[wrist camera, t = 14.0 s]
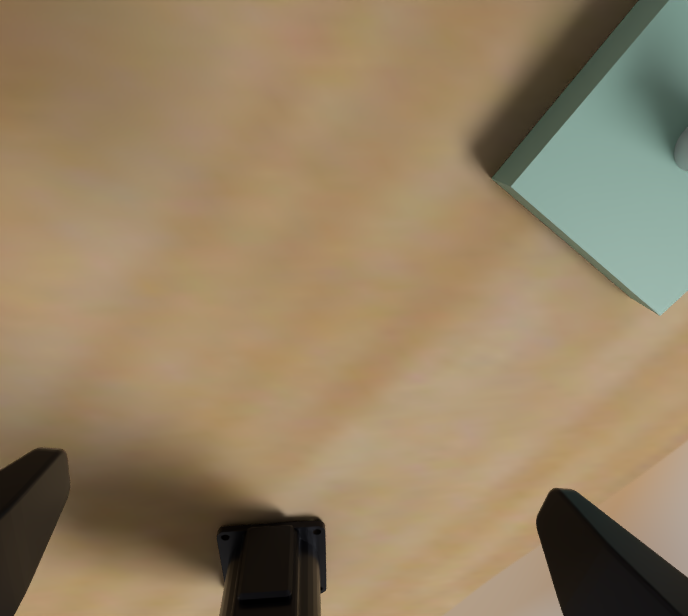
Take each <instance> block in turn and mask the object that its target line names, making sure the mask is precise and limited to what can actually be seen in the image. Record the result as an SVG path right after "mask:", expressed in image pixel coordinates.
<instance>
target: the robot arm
mask: <svg viewBox="0 0 688 616" xmlns="http://www.w3.org/2000/svg"><path fill="white" fill-rule="evenodd" d="M69 490H70V477H69V468H68V459H67V454H66V452H65V451H64V450H62V449H56V448H43V447H41V448H37V449H34V450H32V451H31V452H29V453H27V454H26V455H24V456H23V457H21V458H19V459H18V460H16V461H14V462H13V463H11V464H9V465H8V466H6V467H5V468H3V469H1V470H0V616H14V614H15V612H16V611H17V609H18V607H19V605H20V603H21V601H22V599H23V597H24V595H25V594H26V592H27V589H28V587H29V585H30V583H31V581H32V579H33V576H34V574H35V572H36V569H37V567H38V565H39V563H40V560H41V558H42V556H43V553H44V551H45V549H46V546H47V544H48V542H49V539H50V537H51V535H52V533H53V530H54V528H55V526H56V523H57V521H58V519H59V516H60V514H61V512H62V510H63V507H64V505H65V503H66V500H67V498H68V495H69ZM536 526H537V531H538V534H539V538H540V541H541V544H542V548H543V551H544V554H545V558H546V561H547V564H548V567H549V571H550V574H551V577H552V581H553V584H554V588H555V591H556V594H557V598H558V601H559V604H560V607H561V610H562V613H563V615H564V616H688V577H686V576H685V575H684V574H682V573H681V572H680V571H679V570H677V569H676V568H675V567H673V566H672V565H671V564H670V563H668V562H667V561H666V560H664V559H663V558H662V557H661V556H659V555H658V554H656V553H655V552H654V551H653V550H651V549H650V548H649V547H647V546H646V545H645V544H644V543H642V542H641V541H640V540H639V539H637V538H636V537H635V536H633V535H632V534H631V533H629V532H628V531H627V530H626V529H624V528H623V527H622V526H620V525H619V524H618V523H616V522H615V521H614V520H613V519H611V518H610V517H609V516H608V515H606V514H605V513H604V512H602V511H601V510H600V509H598V508H597V507H596V506H595V505H593V504H592V503H591V502H589V501H588V500H587V499H586V498H584V497H583V496H582V495H580V494H579V493H578V492H576V491H575V490H572V489H563V488H553V489H552V490H550V492H549V493H548V495H547V497H546V499H545V501H544V503H543V505H542V507H541V509H540V511H539V513H538V515H537V519H536ZM217 542H218V548H219V553H220V559H221V565H222V570H223V576H224V582H225V585H224V591H223V597H222V602H221V608H220V614H219V616H321V598H320V593H323V592H325V591H326V542H325V524H324V523H323V522H322V521H302V522H286V523H269V524H253V525H236V526H224V527H221V528H220V529H219V530H218V534H217Z"/></svg>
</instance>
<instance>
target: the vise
mask: <svg viewBox="0 0 688 616" xmlns="http://www.w3.org/2000/svg"><path fill="white" fill-rule="evenodd" d="M491 179H493V180H494V181H495V182H496V183H497V184H498V185H500V186H501V187H502V188H503V189H504V190H505V191H507V192H508V193H509V194H510V195H511V196H512V197H514V198H515V199H516V200H517V201H518V202H520V203H521V204H522V205H523V206H524V207H525V208H527V209H528V210H529V211H530V212H531V213H532V214H534V215H535V216H536V217H537V218H538V219H539V220H541V221H542V222H543V223H544V224H545V225H546V226H548V227H549V228H550V229H551V230H552V231H553V232H555V233H556V234H557V235H558V236H559V237H560V238H562V239H563V240H564V241H565V242H566V243H567V244H569V245H570V246H571V247H572V248H573V249H574V250H576V251H577V252H578V253H579V254H580V255H581V256H583V257H584V258H585V259H586V260H587V261H588V262H590V263H591V264H592V265H593V266H594V267H595V268H597V269H598V270H599V271H600V272H601V273H602V274H604V275H605V276H606V277H607V278H608V279H609V280H611V281H612V282H613V283H614V284H615V285H616V286H618V287H619V288H620V289H621V290H622V291H623V292H625V293H626V294H627V295H628V296H629V297H630V298H632V299H633V300H635V301H637V302H638V303H640V304H642V305H643V306H645V307H647V308H648V309H650V310H651V311H653V312H655V313H656V314H658V315H662V314H663V313H664V312H665V311H666V310H667V309H668V308H669V307H670V306H671V305H672V304H674V303H675V302H676V301H677V300H678V299H679V298H680V297H681V296H682V295H683V294H684V293H686V292H687V291H688V0H639V1H638V2H637V3H636V4H635V6H634V7H633V8H632V9H631V10H630V12H629V13H628V14H627V15H626V16H625V18H624V19H623V20H622V21H621V22H620V24H619V25H618V26H617V27H616V29H615V30H614V31H613V32H612V33H611V35H610V36H609V37H608V38H607V39H606V41H605V42H604V43H603V44H602V45H601V47H600V48H599V49H598V50H597V52H596V53H595V54H594V55H593V56H592V58H591V59H590V60H589V61H588V62H587V64H586V65H585V66H584V67H583V68H582V70H581V71H580V72H579V73H578V74H577V76H576V77H575V78H574V79H573V81H572V82H571V83H570V84H569V85H568V87H567V88H566V89H565V90H564V91H563V93H562V94H561V95H560V96H559V97H558V99H557V100H556V101H555V102H554V104H553V105H552V106H551V107H550V108H549V110H548V111H547V112H546V113H545V114H544V116H543V117H542V118H541V119H540V120H539V122H538V123H537V124H536V125H535V126H534V128H533V129H532V130H531V131H530V133H529V134H528V135H527V136H526V137H525V139H524V140H523V141H522V142H521V143H520V145H519V146H518V147H517V148H516V149H515V151H514V152H513V153H512V154H511V156H510V157H509V158H508V159H507V160H506V162H505V163H504V164H503V165H502V166H501V168H500V169H499V170H498V171H497V172H496V174H495V175H494V176H493V177H492V178H491Z"/></svg>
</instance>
